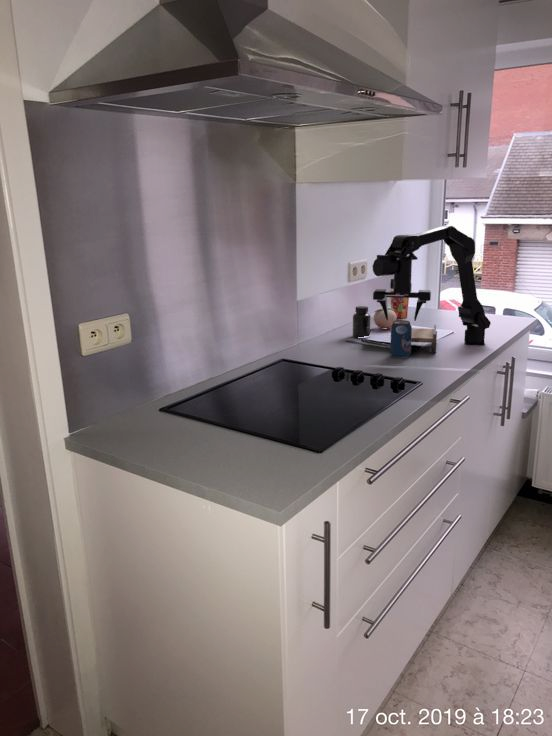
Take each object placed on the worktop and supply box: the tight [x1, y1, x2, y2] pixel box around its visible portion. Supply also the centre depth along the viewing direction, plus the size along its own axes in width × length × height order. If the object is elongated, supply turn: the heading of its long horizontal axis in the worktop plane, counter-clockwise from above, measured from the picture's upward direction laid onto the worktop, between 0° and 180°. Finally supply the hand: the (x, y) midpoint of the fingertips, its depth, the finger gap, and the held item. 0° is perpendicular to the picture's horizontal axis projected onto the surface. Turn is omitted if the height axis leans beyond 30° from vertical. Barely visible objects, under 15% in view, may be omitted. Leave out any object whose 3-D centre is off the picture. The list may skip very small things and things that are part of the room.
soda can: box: [389, 319, 413, 359], centre depth 211 cm, size 7×7×12 cm
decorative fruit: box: [373, 307, 397, 329], centre depth 251 cm, size 9×8×10 cm
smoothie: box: [390, 288, 410, 320], centre depth 269 cm, size 8×8×20 cm
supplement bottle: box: [352, 305, 371, 339], centre depth 240 cm, size 7×7×12 cm
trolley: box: [411, 324, 438, 354], centre depth 222 cm, size 13×17×7 cm
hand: (401, 320), depth 209 cm, fingers open, 9 cm apart
